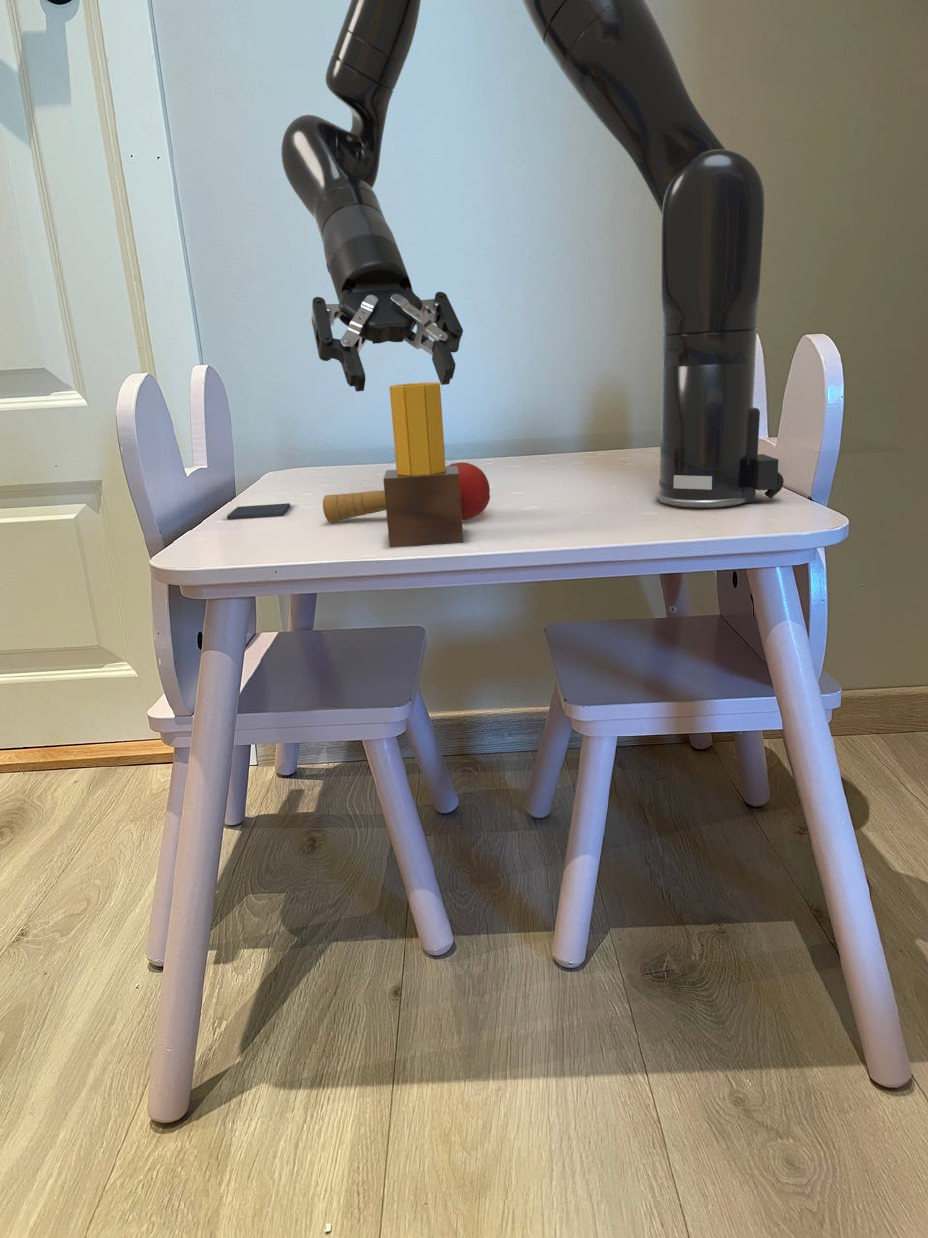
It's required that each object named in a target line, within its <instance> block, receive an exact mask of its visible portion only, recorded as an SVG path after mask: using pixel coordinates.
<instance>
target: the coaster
mask: <svg viewBox="0 0 928 1238" xmlns="http://www.w3.org/2000/svg"><path fill="white" fill-rule="evenodd" d="M290 508H291V503H290V502H289V503H288V502H287V503H286V502H285V503H274V504H258V505H244V506H236V508H234V509H233V510H231V512H230V513H229V514H228V515H227V516H226V519H227V520H236V519H251V518H267V517H268V518H269V517H283V516H284V514H286V512H287V511H288V510H289V509H290Z"/></svg>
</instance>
